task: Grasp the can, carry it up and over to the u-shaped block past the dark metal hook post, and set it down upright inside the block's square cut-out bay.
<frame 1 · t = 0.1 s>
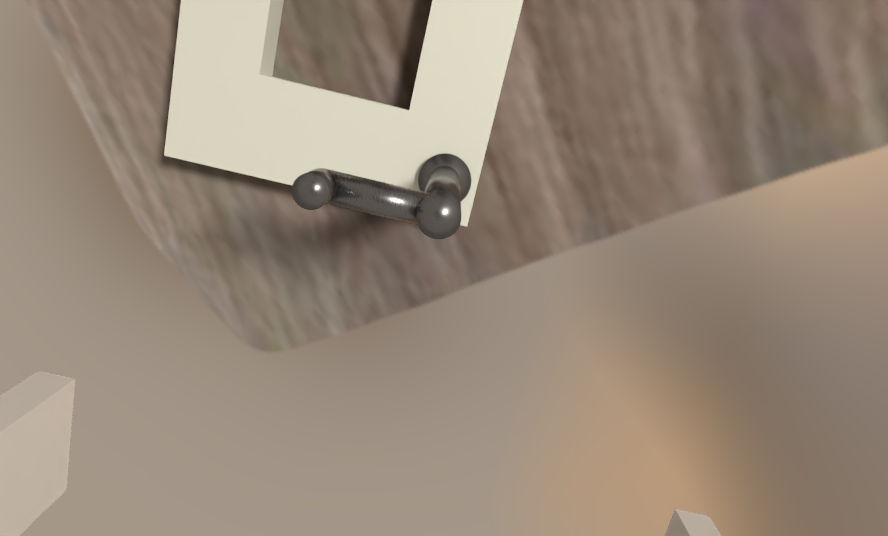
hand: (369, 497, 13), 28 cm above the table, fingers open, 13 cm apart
u-shaped block: (346, 69, 37), on the table
hook post: (445, 175, 39), resting on u-shaped block
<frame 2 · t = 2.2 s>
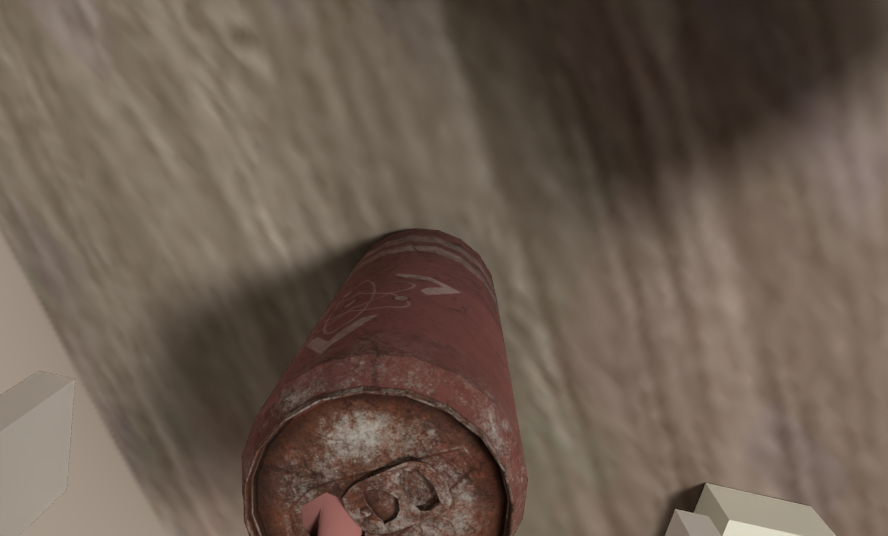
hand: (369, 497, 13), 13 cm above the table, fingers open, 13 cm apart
can: (421, 298, 25), on the table
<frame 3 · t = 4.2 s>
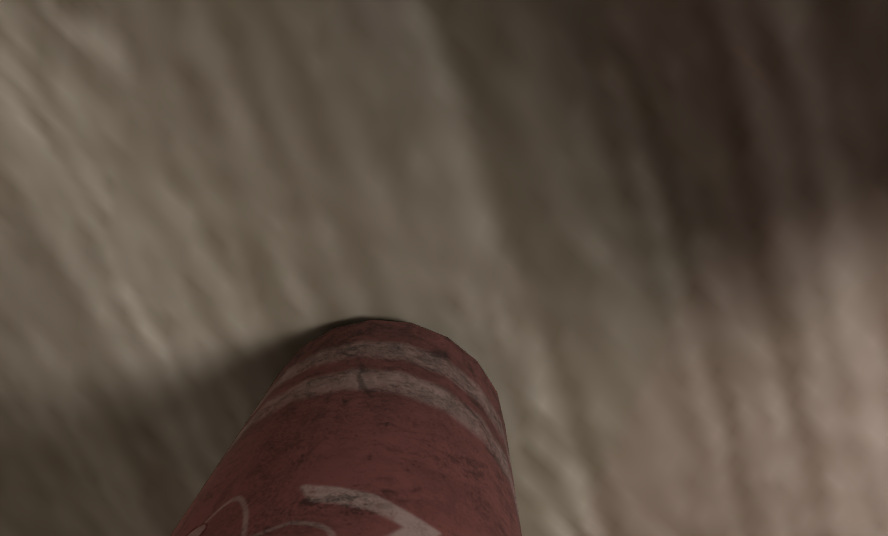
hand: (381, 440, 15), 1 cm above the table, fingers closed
can: (386, 421, 16), on the table
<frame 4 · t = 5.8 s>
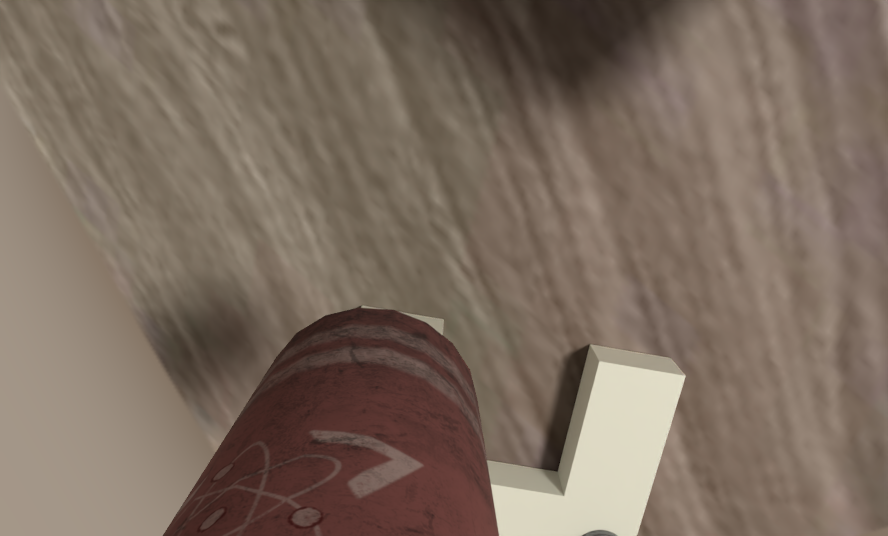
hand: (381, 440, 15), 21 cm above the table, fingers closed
u-shaped block: (493, 440, 38), on the table
can: (372, 400, 18), point 18 cm above the table, touching hand
hook post: (590, 524, 40), resting on u-shaped block
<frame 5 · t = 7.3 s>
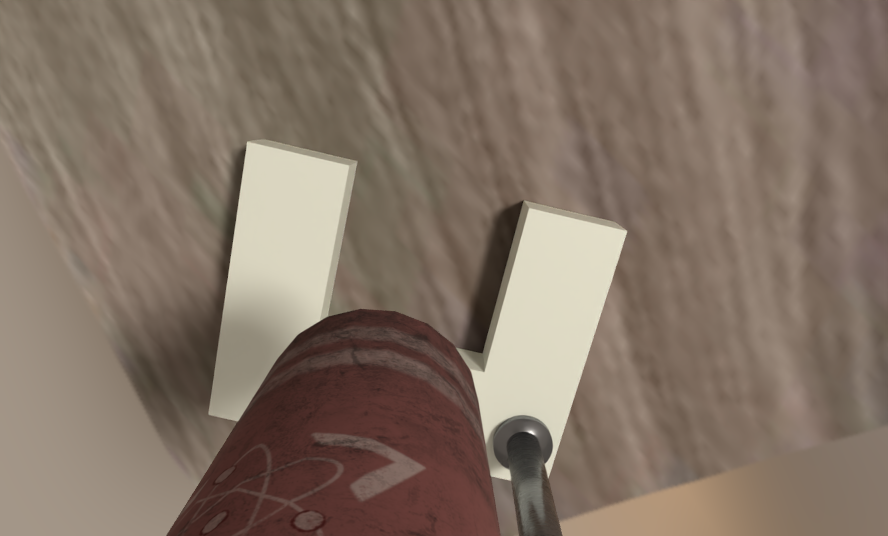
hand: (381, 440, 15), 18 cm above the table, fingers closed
u-shaped block: (410, 311, 33), on the table
can: (373, 401, 18), point 15 cm above the table, touching hand
hook post: (517, 418, 35), resting on u-shaped block
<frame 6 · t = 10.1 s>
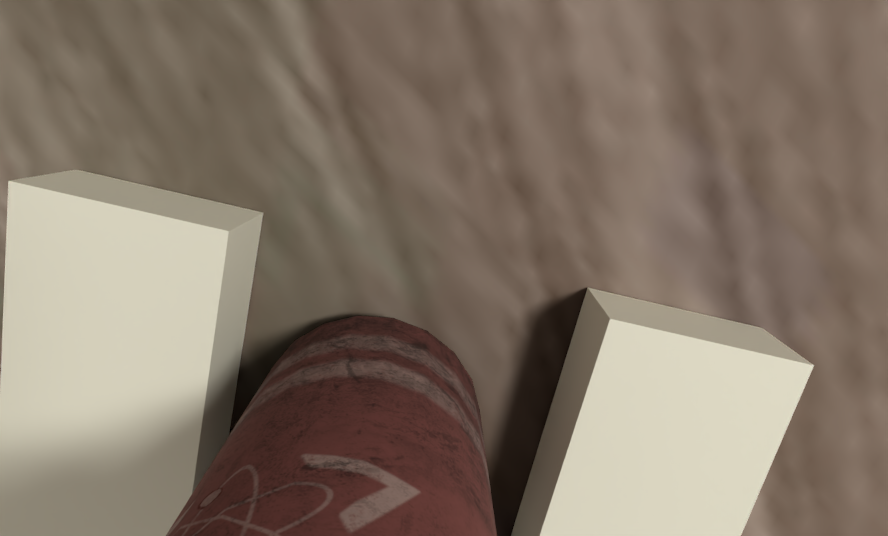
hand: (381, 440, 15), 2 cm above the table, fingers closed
u-shaped block: (372, 484, 18), on the table
can: (371, 409, 18), on the table, touching hand
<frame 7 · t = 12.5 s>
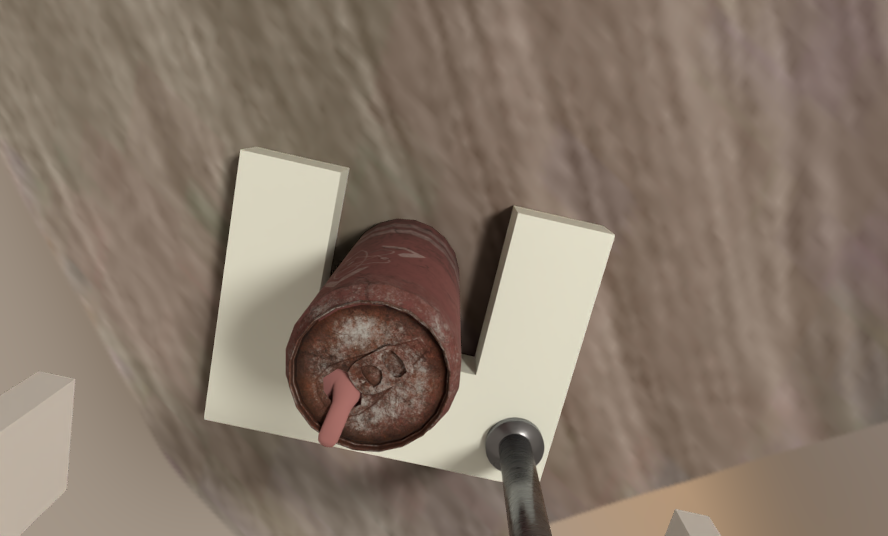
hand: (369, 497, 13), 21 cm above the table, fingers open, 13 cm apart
u-shaped block: (403, 315, 34), on the table
can: (403, 272, 33), on the table
hook post: (510, 420, 35), resting on u-shaped block
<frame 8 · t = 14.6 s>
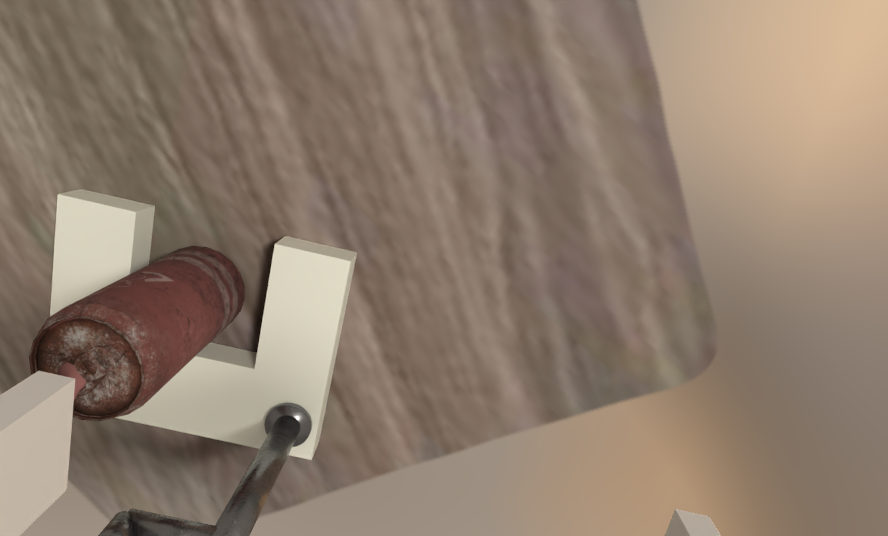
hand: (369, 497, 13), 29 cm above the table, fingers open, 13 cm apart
u-shaped block: (206, 321, 43), on the table
can: (204, 287, 42), on the table
hook post: (298, 406, 44), resting on u-shaped block
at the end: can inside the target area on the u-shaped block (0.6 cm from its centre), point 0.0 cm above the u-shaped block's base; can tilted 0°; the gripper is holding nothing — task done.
